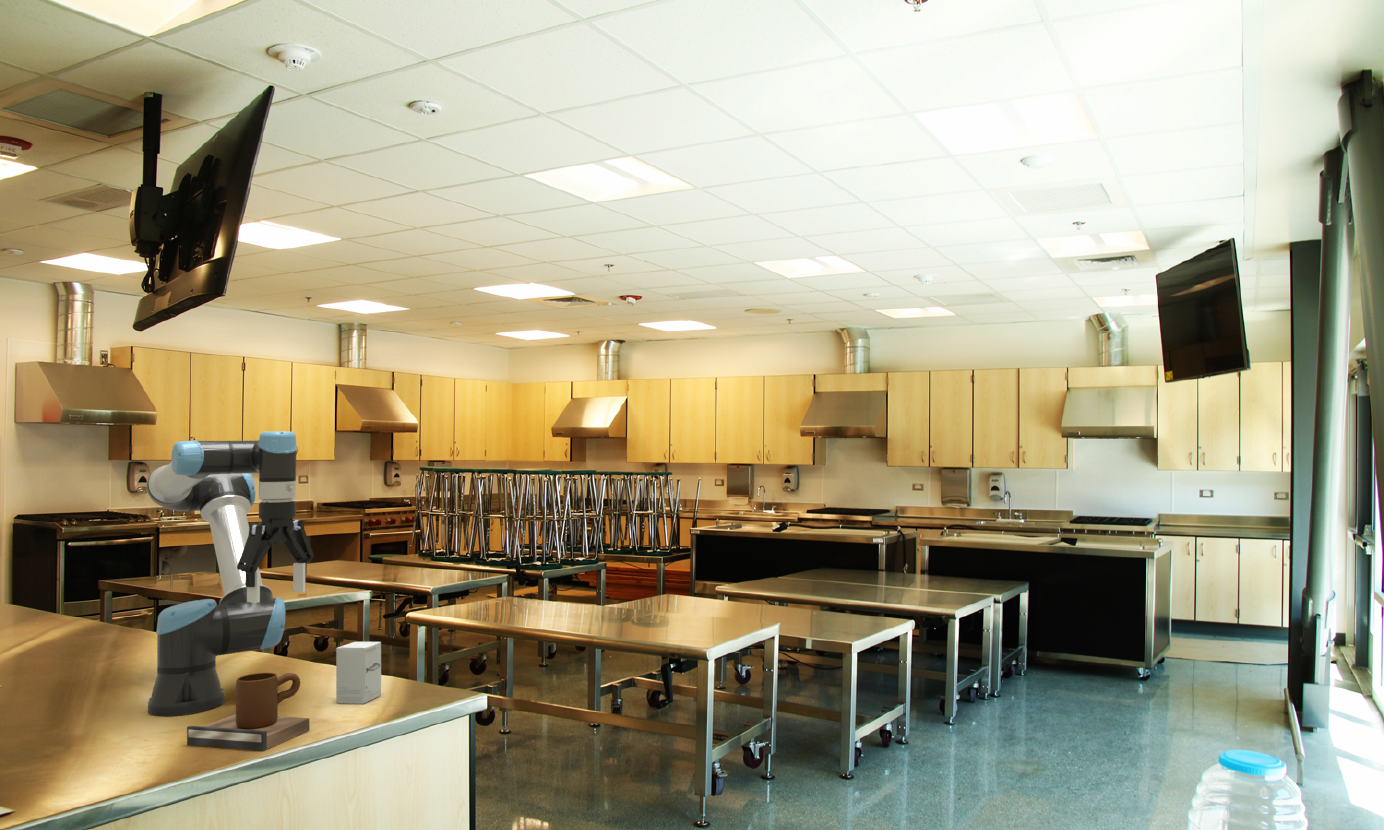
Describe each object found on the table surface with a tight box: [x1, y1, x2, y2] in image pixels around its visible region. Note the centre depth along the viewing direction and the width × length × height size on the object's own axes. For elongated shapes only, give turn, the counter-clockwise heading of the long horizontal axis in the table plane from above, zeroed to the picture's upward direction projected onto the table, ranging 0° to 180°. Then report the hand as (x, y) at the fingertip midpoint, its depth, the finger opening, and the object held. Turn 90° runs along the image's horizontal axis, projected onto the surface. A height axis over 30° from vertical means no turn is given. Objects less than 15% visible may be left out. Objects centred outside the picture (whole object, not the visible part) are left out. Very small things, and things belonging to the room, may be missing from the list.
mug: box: [235, 672, 301, 729], centre depth 181 cm, size 12×8×9 cm, turn 127°
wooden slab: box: [186, 713, 311, 752], centre depth 179 cm, size 18×13×4 cm
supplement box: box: [335, 641, 382, 705], centre depth 206 cm, size 7×7×13 cm
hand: (277, 596), depth 198 cm, fingers open, 13 cm apart
